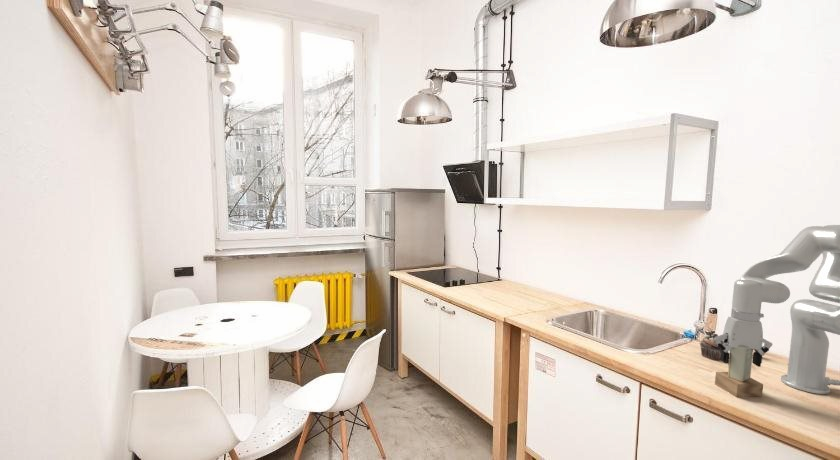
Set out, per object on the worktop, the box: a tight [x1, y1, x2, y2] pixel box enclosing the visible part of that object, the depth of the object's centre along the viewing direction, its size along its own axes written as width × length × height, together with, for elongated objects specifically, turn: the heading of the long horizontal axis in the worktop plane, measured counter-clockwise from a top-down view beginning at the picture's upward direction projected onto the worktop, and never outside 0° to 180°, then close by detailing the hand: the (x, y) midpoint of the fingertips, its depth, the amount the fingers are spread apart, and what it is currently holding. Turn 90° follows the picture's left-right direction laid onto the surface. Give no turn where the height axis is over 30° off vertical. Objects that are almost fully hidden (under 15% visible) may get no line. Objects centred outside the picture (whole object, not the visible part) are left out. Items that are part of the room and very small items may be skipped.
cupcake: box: [699, 333, 724, 362], centre depth 161 cm, size 10×10×10 cm
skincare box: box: [727, 346, 754, 381], centre depth 132 cm, size 6×4×12 cm
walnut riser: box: [714, 371, 764, 398], centre depth 133 cm, size 9×9×5 cm
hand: (740, 363), depth 132 cm, fingers open, 9 cm apart
